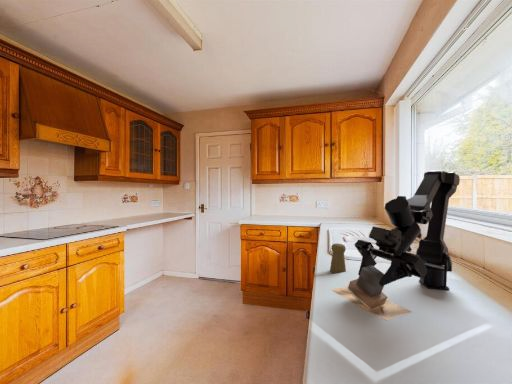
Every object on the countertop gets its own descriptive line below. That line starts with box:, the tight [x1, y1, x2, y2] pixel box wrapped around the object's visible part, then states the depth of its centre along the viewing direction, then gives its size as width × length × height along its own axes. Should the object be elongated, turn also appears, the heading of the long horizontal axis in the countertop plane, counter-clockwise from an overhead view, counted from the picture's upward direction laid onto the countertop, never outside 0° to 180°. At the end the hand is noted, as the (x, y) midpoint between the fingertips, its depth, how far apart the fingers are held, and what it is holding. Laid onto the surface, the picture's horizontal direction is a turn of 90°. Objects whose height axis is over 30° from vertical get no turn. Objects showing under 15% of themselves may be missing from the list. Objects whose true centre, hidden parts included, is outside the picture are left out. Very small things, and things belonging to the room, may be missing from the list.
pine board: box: [330, 285, 413, 321], centre depth 70 cm, size 19×10×1 cm, turn 26°
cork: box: [329, 243, 347, 275], centre depth 96 cm, size 6×6×11 cm
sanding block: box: [348, 265, 388, 310], centre depth 67 cm, size 8×6×8 cm
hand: (369, 280), depth 65 cm, fingers open, 6 cm apart
